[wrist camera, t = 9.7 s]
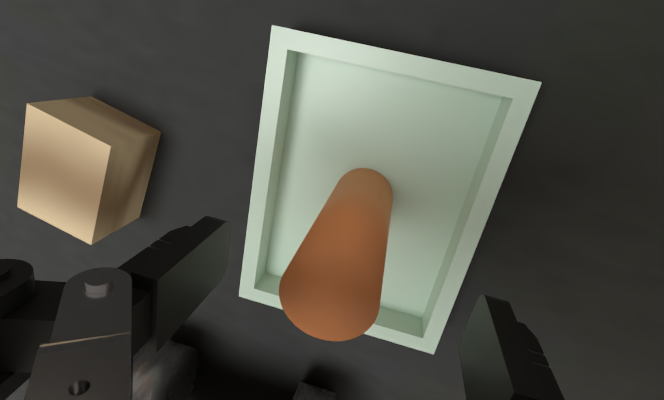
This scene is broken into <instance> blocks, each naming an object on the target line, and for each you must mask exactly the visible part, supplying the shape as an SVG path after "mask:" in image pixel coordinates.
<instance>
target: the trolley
mask: <svg viewBox="0 0 664 400" xmlns="http://www.w3.org/2000/svg"><path fill="white" fill-rule="evenodd" d="M197 370H198V353H197V350H196V349H195V348H193V347H190V346H187V345H184V344H181V343H178V342H174V341H171V340H168V341H167V342H166V343H165V344H164V345H163V346H162V348H161V349H160V350H159V351H158V352H157V353H153V352H150V351H148V350H145V349H142V348H141V349H140V350H139V351H138V352H137V353H136V354H135V355H134V356H133V400H189V399H190V396H191V393H192V390H193V387H194V384H195V380H196V376H197ZM335 398H336V393H335V392H331V391H328V390H325V389H322V388H319V387H316V386H313V385H309V384H306V383H303V382H300V383H299V385H298V387H297V389H296V392H295V394H294V397H293V400H335Z"/></svg>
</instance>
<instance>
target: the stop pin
mask: <svg viewBox="0 0 664 400" xmlns="http://www.w3.org/2000/svg"><path fill="white" fill-rule="evenodd" d="M392 202H393V192H392V188H391V185H390V183H389V182H388V180H387V179H386V178H385V177H384V176H383V175H382V174H380V173H379V172H377V171H375V170H372V169H368V168H357V169H354V170H351V171H349V172H347V173H346V174H344V175H343V176H342V177H341V178H340V180H339V181H338V183H337V185H336V186H335V188H334V190H333V191H332V193H331V195H330V196H329V198H328V200H327V201H326V203H325V205H324V206H323V208H322V210H321V211H320V213H319V215H318V216H317V218H316V220H315V221H314V223H313V225H312V227H311V228H310V230H309V232H308V233H307V235H306V237H305V238H304V240H303V242H302V243H301V245H300V247H299V248H298V250H297V252H296V253H295V255H294V257H293V258H292V260H291V262H290V263H289V265H288V267H287V268H286V270H285V272H284V273H283V275H282V278H281V280H280V284H279V298H280V303H281V305H282V308H283V310H284V312H285V314H286V315H287V317H288V318H289V319H290V320H291V322H292V323H293V324H294V325H296V326H297V327H298V328H299V329H301V330H302V331H304V332H305V333H307V334H309V335H311V336H313V337H316V338H319V339H323V340H328V341H345V340H350V339H353V338H356V337H358V336H360V335H362V334H363V333H365V332H366V331H367V330H368V329H369V328H370V327H371V326H372V325H373V324H374V322H375V320H376V318H377V316H378V313H379V308H380V300H381V292H382V284H383V276H384V267H385V259H386V251H387V243H388V235H389V227H390V219H391V211H392Z"/></svg>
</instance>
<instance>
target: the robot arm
mask: <svg viewBox="0 0 664 400" xmlns="http://www.w3.org/2000/svg"><path fill="white" fill-rule="evenodd" d="M230 231H231V226H230V223H229V222H227V221H224V220H220V219H217V218H213V217H210V216H205V217H204V218H202V219H201V220H200V221H198V222H197V223H195V224H194V225H193V226H191V227H189V226H184V227H181V228H178V229H175V230H172V231H170V232H168V233H167V234H166V235H164V236H163V237H161V238H160V239H159V241H158V240H157V241H156V242H154V243H153V244H151V245H150V247H147V248H146V249H144V250H143V251H141V252H140V253H138V254H137V255H136V256H134V257H133V258H131V259H130V260H128V261H127V262H125V263H124V264H123V265H121V266H120V267H118V268H95V269H90V270H87V271H84V272H81V273H79V274H77V275H75V276H73V277H72V278H71V279H69V280H68V281H67V282H53V281H38V280H35V279H34V272H33V267H32V266H31V265H30V264H29V263H27V262H25V261H22V260H16V259H0V400H5V399H6V398H7V397H9V396H10V395H11V394H12V393H13V392H14V391H15V390H16V389H17V388H19V387H20V386H21V385H22V384H23V383H24V382H25V381H26V380H28V379H29V378H30V379H29V383H28V386H27V390H26V393H25V397H24V400H133V356H134V355H135V354H136V353H137V352H138V351H139V350H140V349H141V348H142V349H145V350H148V351H150V352H153V353H157V352H158V351H159V350H160V349H161V348H162V346H163V345H164V344H165V343H166V342H167V341H168V340H169V339H170V337H171V336H172V335H173V334H174V333H175V332H176V331H177V329H178V328H179V327H180V326H181V325H182V324H183V323H184V321H185V320H186V319H187V318H188V317H189V316H190V315H191V314H192V312H193V311H194V310H195V309H196V308H197V307H198V306H199V304H200V303H201V302H202V301H203V300H204V299H205V298H206V297H207V295H208V294H209V293H210V292H211V291H212V290H213V289H214V287H215V286H216V285H217V284H218V283H219V282H220V280H221V279H222V277H223V275H224V273H225V270H226V266H227V260H228V250H229V241H230ZM459 355H460V362H461V368H462V374H463V381H464V387H465V394H466V400H564V398H563V395H562V393H561V391H560V389H559V386H558V384H557V382H556V380H555V377H554V375H553V373H552V371H551V368H549V364H548V362H547V359H546V357H545V356H543V350H542V348H541V346H540V344H539V341H538V339H537V338H536V337H535V335H534V334H533V333H532V332H531V331H530V330H529V329H528V328H527V326H526V325H525V324H523V323H520V322H517V320H516V318H515V315H514V313H513V310H512V308H511V305H510V303H509V302H507V301H504V300H501V299H497V298H493V297H490V296H486V295H480V296H479V298H478V300H477V302H476V304H475V306H474V309H473V311H472V313H471V316H470V318H469V320H468V323H467V325H466V327H465V330H464V332H463V334H462V337H461V342H460V349H459Z"/></svg>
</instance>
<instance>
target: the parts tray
mask: <svg viewBox="0 0 664 400" xmlns="http://www.w3.org/2000/svg"><path fill="white" fill-rule="evenodd" d="M541 83H542V82H538V81H533V80H529V79H524V78H519V77H515V76H510V75H505V74H500V73H496V72H491V71H486V70H482V69H477V68H472V67H467V66H463V65H458V64H453V63H449V62H444V61H439V60H434V59H430V58H425V57H420V56H416V55H411V54H406V53H401V52H397V51H392V50H387V49H383V48H378V47H373V46H368V45H364V44H359V43H354V42H350V41H345V40H340V39H335V38H331V37H326V36H321V35H316V34H312V33H307V32H302V31H298V30H293V29H288V28H283V27H279V26H274V25H272V29H271V37H270V45H269V53H268V61H267V70H266V78H265V86H264V94H263V102H262V110H261V118H260V127H259V135H258V143H257V151H256V159H255V167H254V175H253V184H252V192H251V200H250V208H249V216H248V224H247V232H246V241H245V249H244V257H243V265H242V273H241V281H240V289H239V297H243V298H246V299H249V300H253V301H256V302H259V303H263V304H266V305H269V306H273V307H276V308H279V309H283V308H282V305H281V303H280V298H279V284H280V280H281V278H282V275H283V273H284V272H285V270H286V268H287V267H288V265H289V263H290V262H291V260H292V258H293V257H294V255H295V253H296V252H297V250H298V248H299V247H300V245H301V243H302V242H303V240H304V238H305V237H306V235H307V233H308V232H309V230H310V228H311V227H312V225H313V223H314V221H315V220H316V218H317V216H318V215H319V213H320V211H321V210H322V208H323V206H324V205H325V203H326V201H327V200H328V198H329V196H330V195H331V193H332V191H333V190H334V188H335V186H336V185H337V183H338V181H339V180H340V178H341V177H342V176H343V175H344V174H346V173H347V172H349V171H351V170H354V169H357V168H368V169H372V170H375V171H377V172H379V173H380V174H382V175H383V176H384V177H385V178H386V179H387V180H388V182H389V183H390V185H391V188H392V192H393V202H392V211H391V219H390V227H389V235H388V243H387V251H386V259H385V267H384V276H383V284H382V292H381V300H380V308H379V313H378V316H377V318H376V320H375V322H374V324H373V325H372V326H371V327H370V328H369V329H368V330H367V331H366V332H365V333H363V334H367V335H370V336H373V337H377V338H380V339H383V340H387V341H390V342H393V343H397V344H400V345H404V346H407V347H410V348H414V349H417V350H420V351H424V352H427V353H430V354H434V352H435V350H436V347H437V345H438V342H439V340H440V337H441V335H442V332H443V330H444V327H445V325H446V322H447V320H448V317H449V315H450V312H451V310H452V307H453V305H454V302H455V300H456V297H457V295H458V292H459V290H460V287H461V284H462V282H463V279H464V277H465V274H466V272H467V269H468V267H469V264H470V262H471V259H472V257H473V254H474V252H475V249H476V247H477V244H478V242H479V239H480V237H481V234H482V232H483V229H484V227H485V224H486V222H487V219H488V217H489V214H490V212H491V209H492V207H493V204H494V202H495V199H496V196H497V194H498V191H499V189H500V186H501V184H502V181H503V179H504V176H505V174H506V171H507V169H508V166H509V164H510V161H511V159H512V156H513V154H514V151H515V149H516V146H517V144H518V141H519V139H520V136H521V134H522V131H523V129H524V126H525V124H526V121H527V119H528V116H529V114H530V111H531V109H532V106H533V103H534V101H535V98H536V96H537V93H538V91H539V88H540V86H541Z"/></svg>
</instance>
